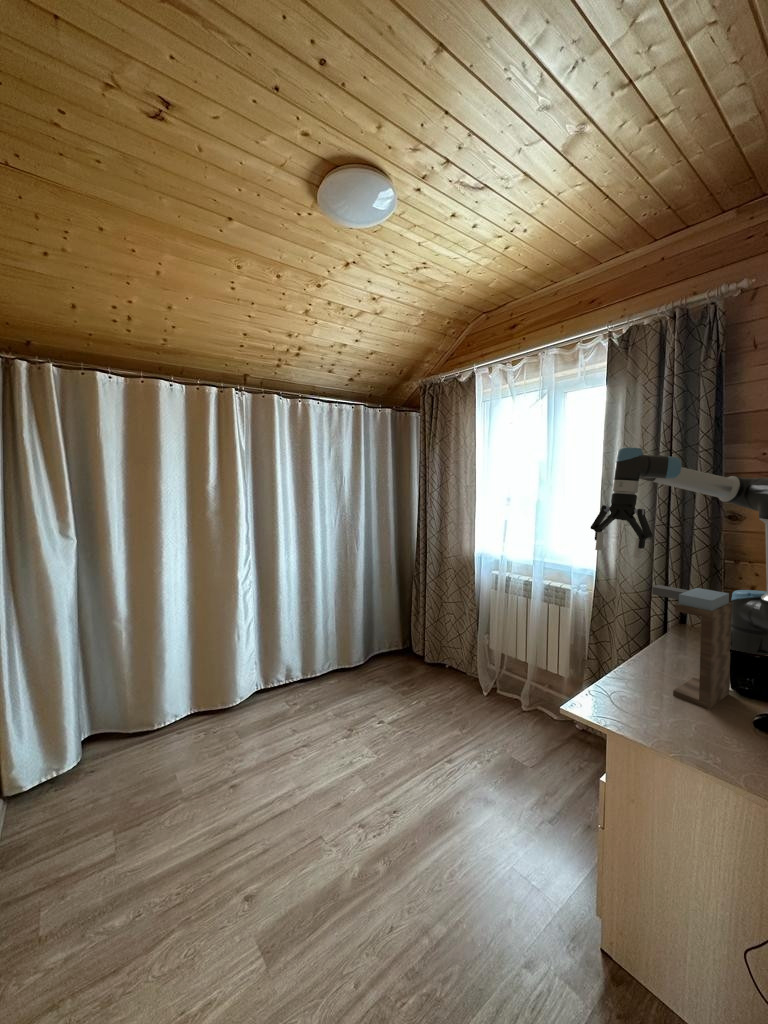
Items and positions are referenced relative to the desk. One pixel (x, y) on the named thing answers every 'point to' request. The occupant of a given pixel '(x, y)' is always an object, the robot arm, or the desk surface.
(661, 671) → the desk surface
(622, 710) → the desk surface
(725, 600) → the grey toy mallet
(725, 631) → the shelf stand
